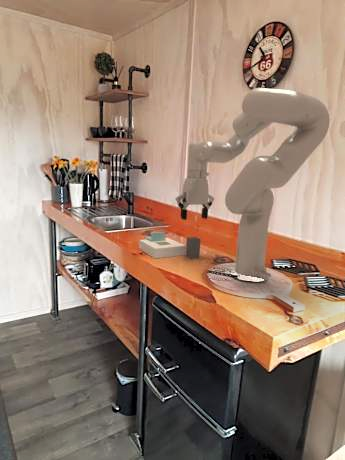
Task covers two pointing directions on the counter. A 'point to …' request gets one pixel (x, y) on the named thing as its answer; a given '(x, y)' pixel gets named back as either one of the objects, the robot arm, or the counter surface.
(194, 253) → the dark grey upright block
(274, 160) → the robot arm
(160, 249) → the socket
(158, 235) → the shutter
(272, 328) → the counter surface
